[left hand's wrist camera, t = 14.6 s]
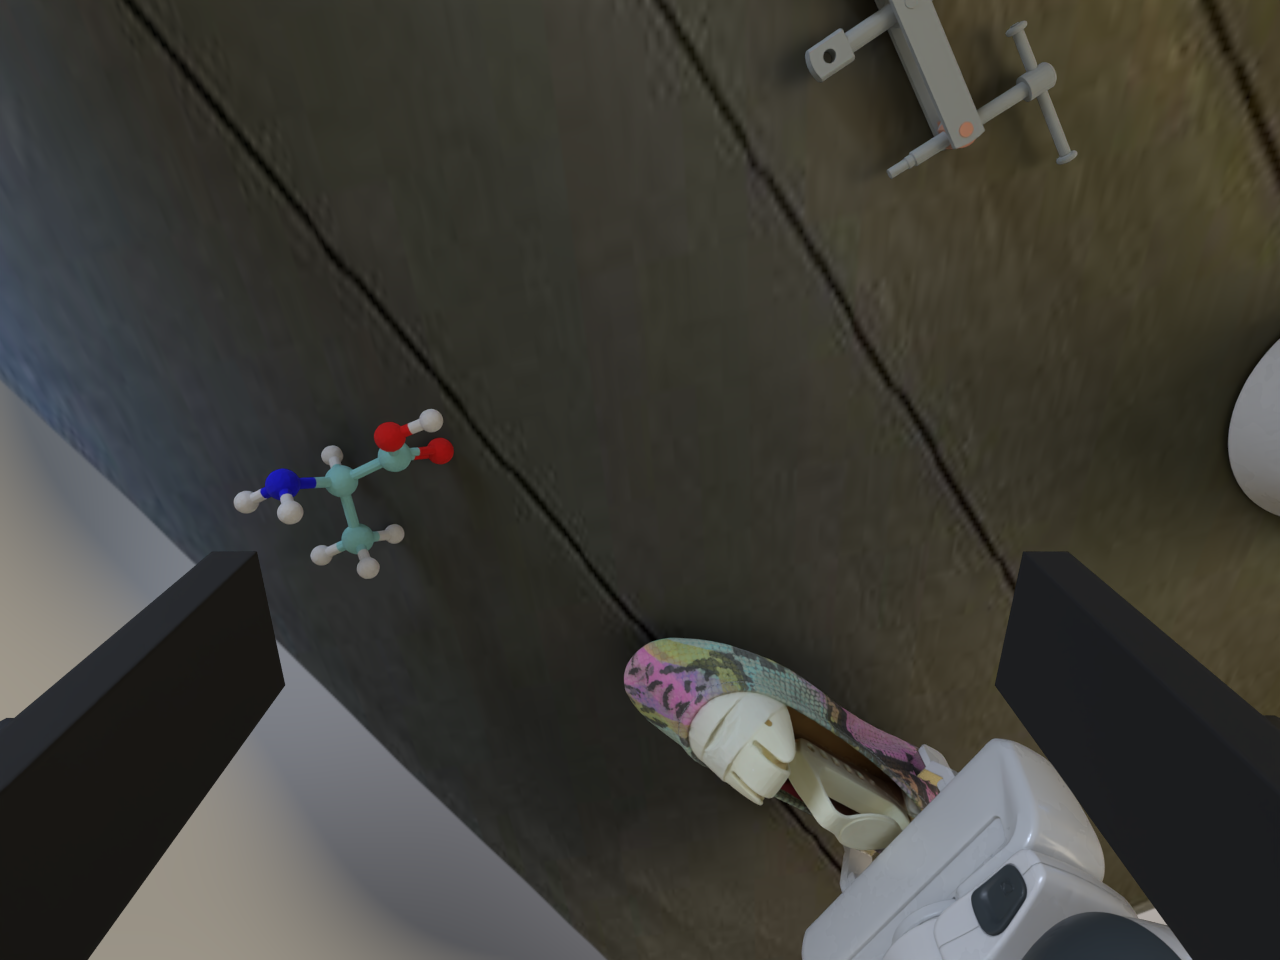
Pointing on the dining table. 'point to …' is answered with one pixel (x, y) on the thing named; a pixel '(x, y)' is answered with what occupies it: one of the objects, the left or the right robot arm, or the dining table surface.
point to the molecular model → (352, 487)
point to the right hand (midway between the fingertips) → (889, 792)
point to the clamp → (939, 76)
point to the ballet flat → (778, 738)
